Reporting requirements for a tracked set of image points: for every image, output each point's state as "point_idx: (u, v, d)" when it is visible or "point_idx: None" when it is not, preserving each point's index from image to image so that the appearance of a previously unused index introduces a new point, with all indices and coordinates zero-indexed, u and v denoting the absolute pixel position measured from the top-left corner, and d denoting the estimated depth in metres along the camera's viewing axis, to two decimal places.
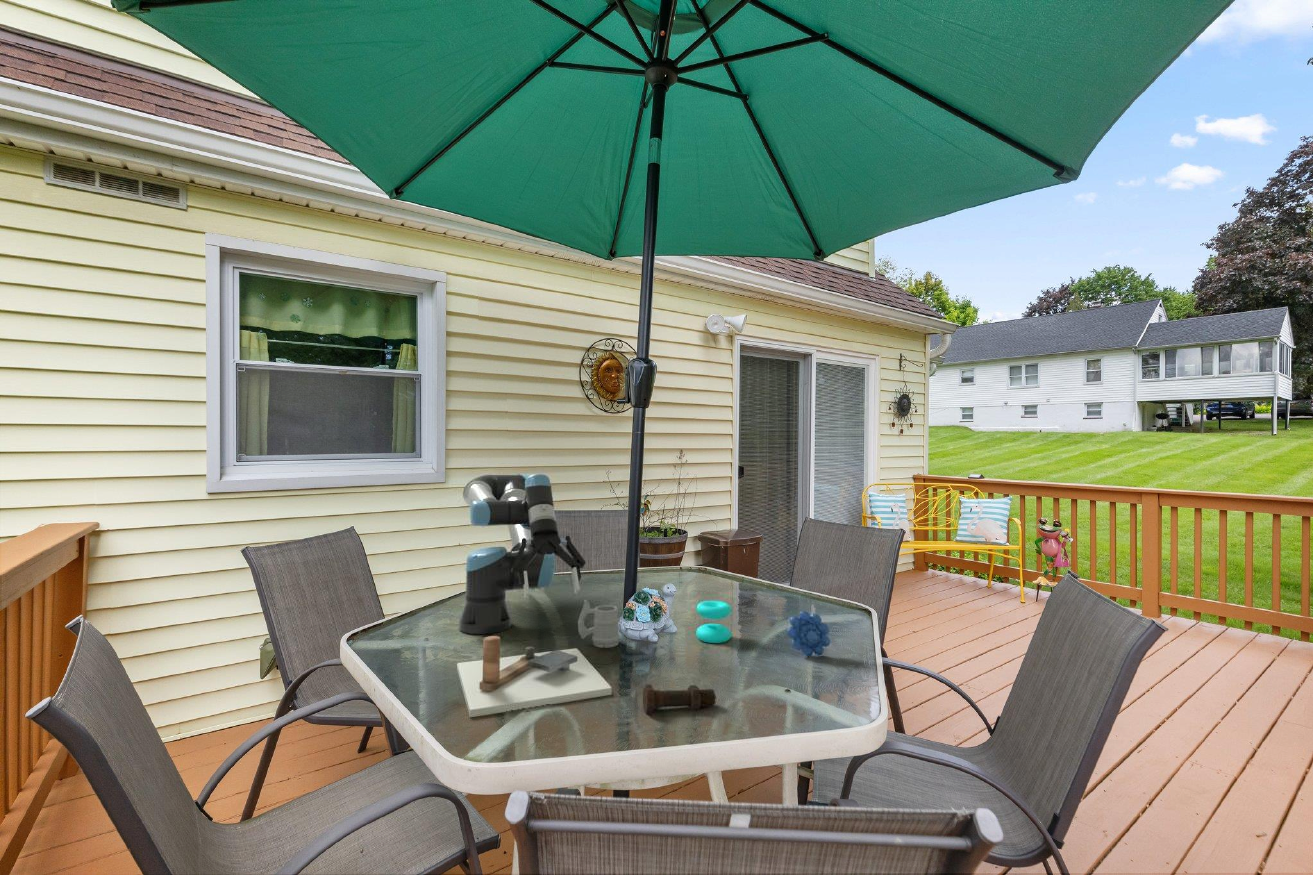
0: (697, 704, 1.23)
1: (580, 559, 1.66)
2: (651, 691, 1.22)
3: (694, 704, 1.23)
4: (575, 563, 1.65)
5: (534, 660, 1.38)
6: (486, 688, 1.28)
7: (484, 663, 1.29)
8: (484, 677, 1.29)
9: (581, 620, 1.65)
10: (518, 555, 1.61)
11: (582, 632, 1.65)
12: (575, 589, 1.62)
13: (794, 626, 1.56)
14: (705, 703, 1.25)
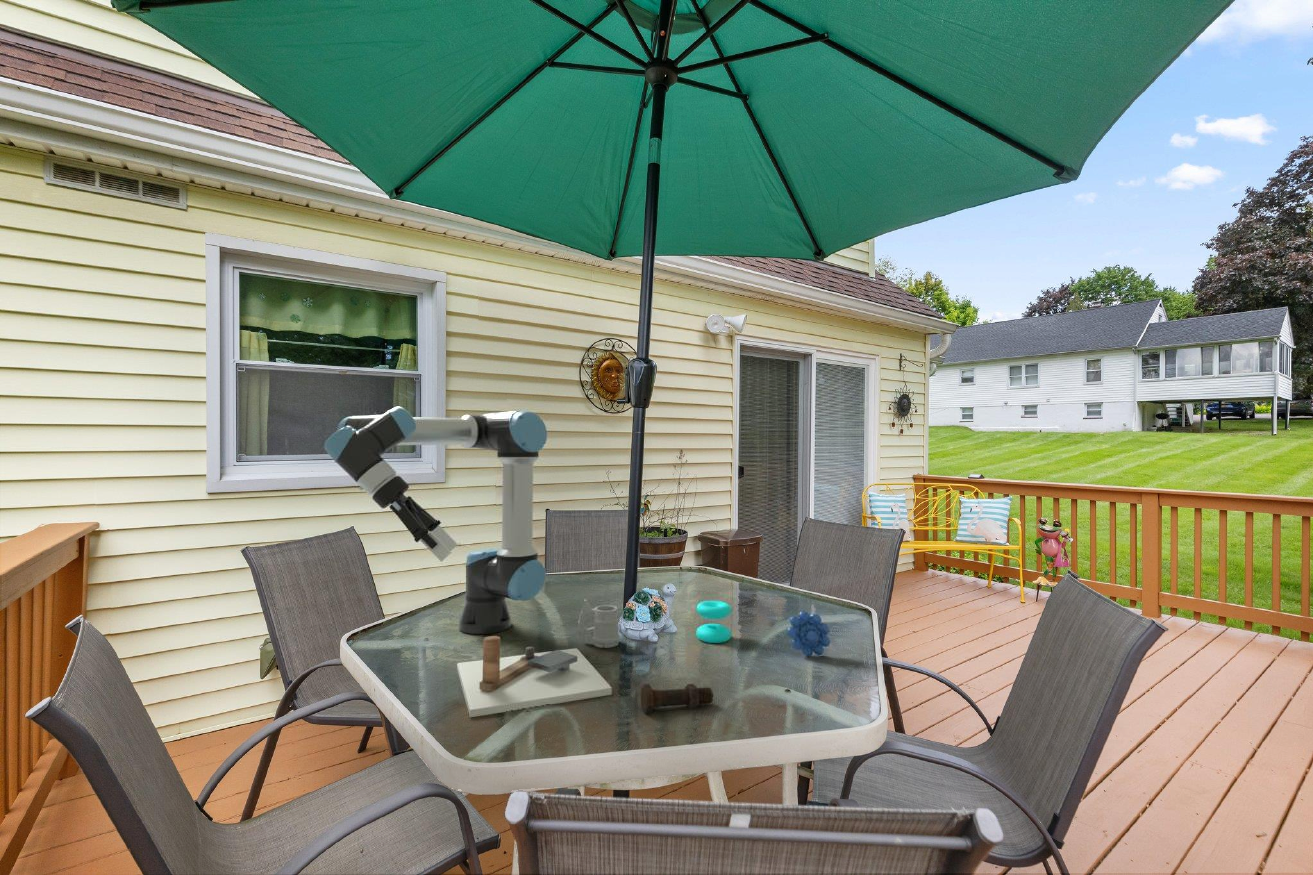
0: (695, 703, 1.24)
1: None
2: (650, 691, 1.22)
3: (692, 703, 1.24)
4: None
5: (534, 660, 1.38)
6: (486, 688, 1.28)
7: (484, 663, 1.29)
8: (484, 677, 1.29)
9: (581, 620, 1.65)
10: None
11: (582, 632, 1.65)
12: None
13: (794, 626, 1.56)
14: (703, 701, 1.25)
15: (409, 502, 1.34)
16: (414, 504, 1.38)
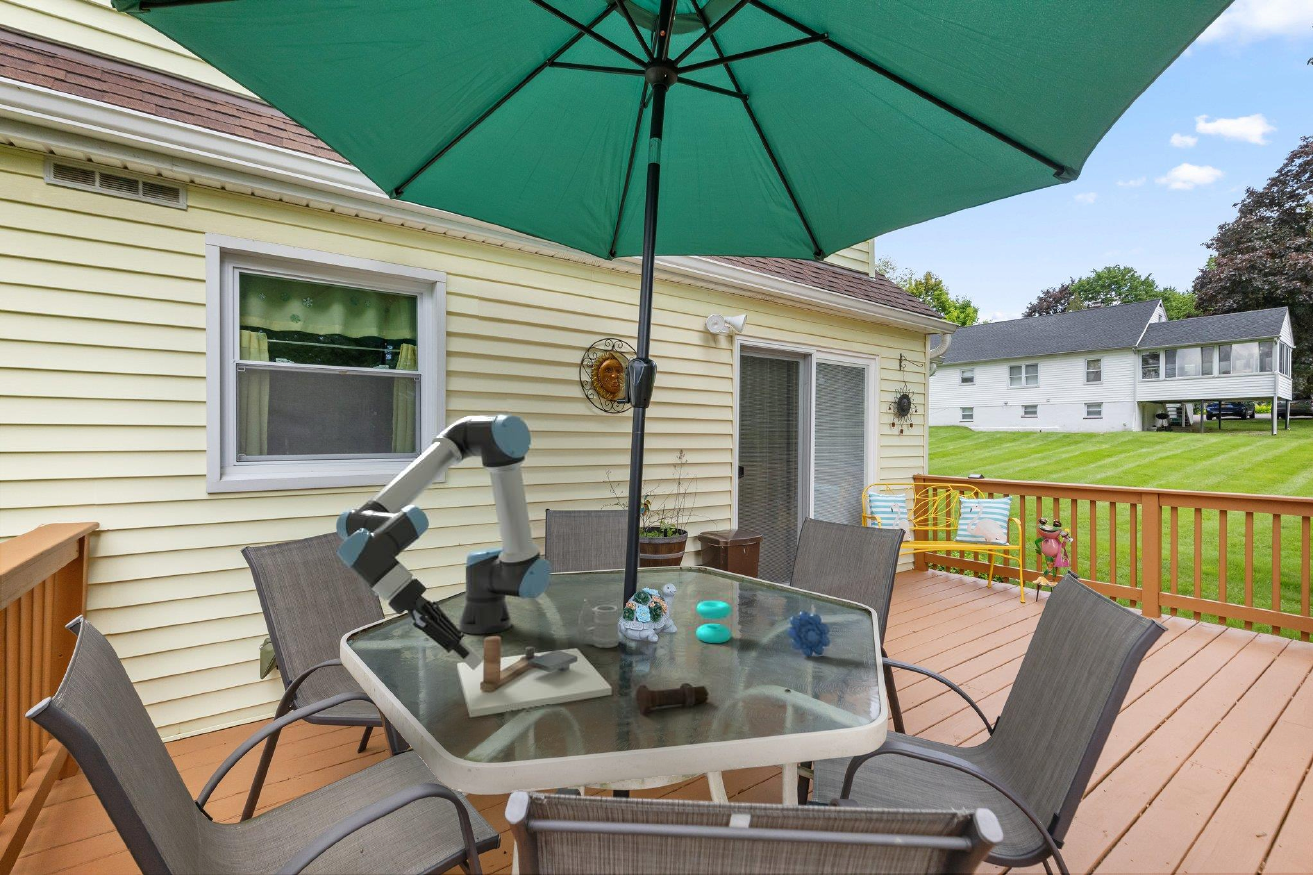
0: (691, 701, 1.25)
1: None
2: (647, 692, 1.22)
3: (689, 702, 1.24)
4: None
5: (534, 660, 1.38)
6: (487, 688, 1.28)
7: (485, 663, 1.29)
8: (485, 677, 1.29)
9: (581, 620, 1.65)
10: None
11: (582, 632, 1.65)
12: None
13: (794, 626, 1.56)
14: (698, 700, 1.26)
15: (429, 609, 1.28)
16: (431, 607, 1.30)
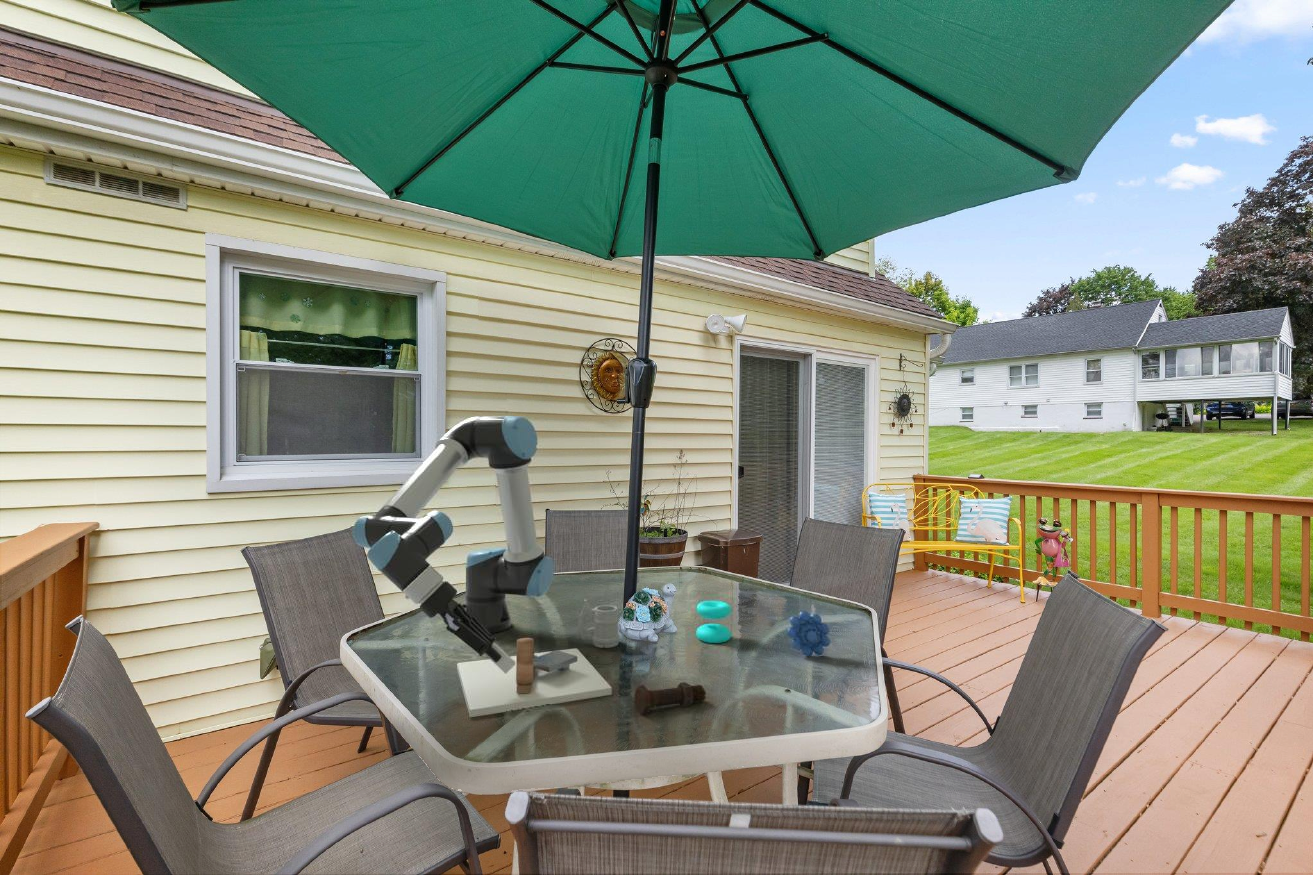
0: (690, 700, 1.25)
1: None
2: (646, 692, 1.22)
3: (687, 701, 1.25)
4: None
5: (534, 660, 1.38)
6: (525, 690, 1.27)
7: (521, 666, 1.28)
8: (521, 680, 1.28)
9: (581, 620, 1.65)
10: None
11: (582, 632, 1.65)
12: None
13: (794, 626, 1.56)
14: (696, 699, 1.27)
15: (460, 612, 1.26)
16: (462, 610, 1.28)
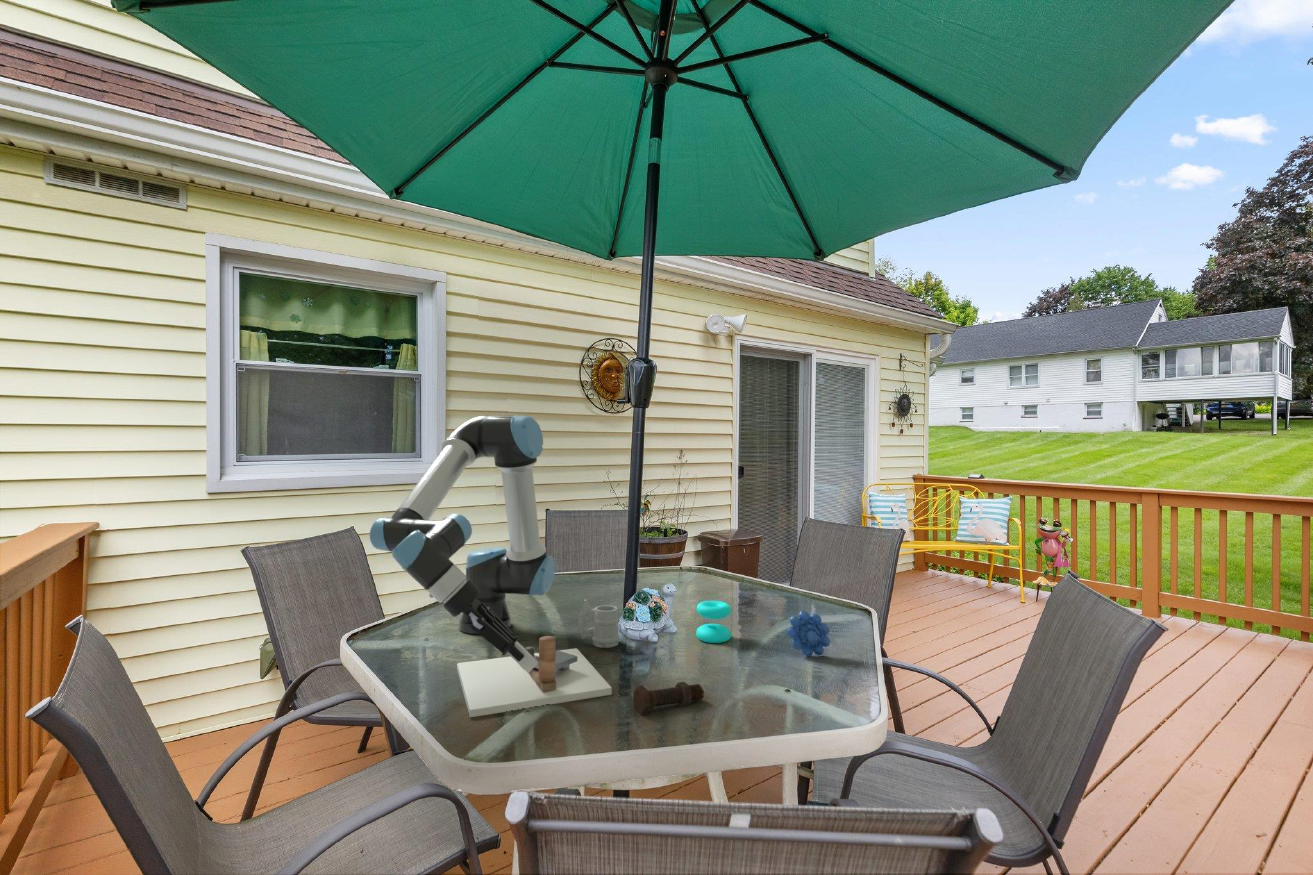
0: (688, 700, 1.25)
1: None
2: (646, 692, 1.22)
3: (686, 700, 1.25)
4: None
5: None
6: (550, 687, 1.29)
7: (546, 664, 1.29)
8: (547, 677, 1.29)
9: (581, 620, 1.65)
10: None
11: (582, 632, 1.65)
12: None
13: (794, 626, 1.56)
14: (694, 698, 1.27)
15: (484, 611, 1.26)
16: (485, 609, 1.29)
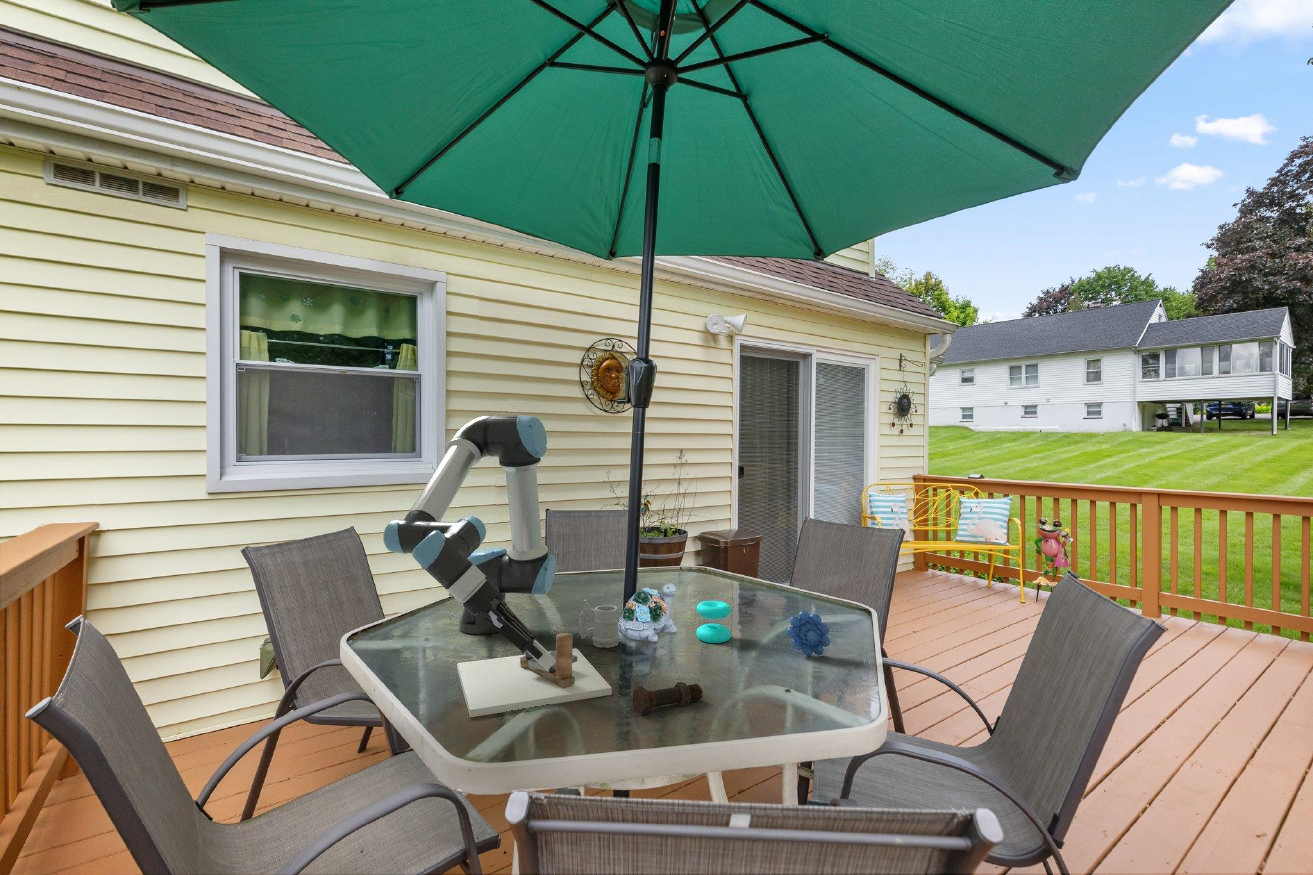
0: (687, 700, 1.25)
1: None
2: (645, 693, 1.22)
3: (685, 700, 1.25)
4: None
5: (534, 660, 1.38)
6: (570, 683, 1.32)
7: (566, 660, 1.31)
8: (566, 673, 1.31)
9: (581, 620, 1.65)
10: None
11: (582, 632, 1.65)
12: None
13: (794, 626, 1.56)
14: (693, 698, 1.27)
15: (503, 610, 1.28)
16: (504, 608, 1.30)
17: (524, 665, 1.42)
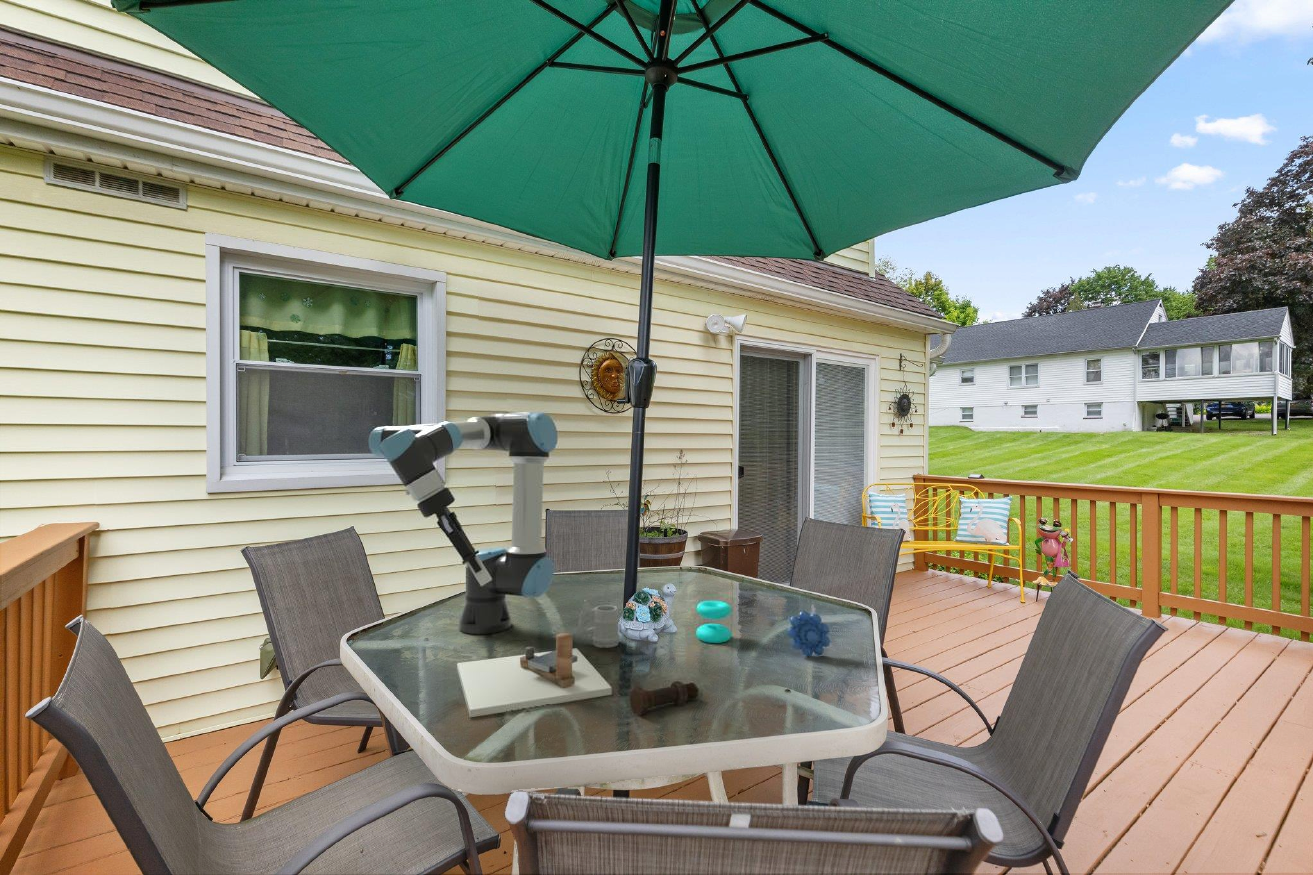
0: (684, 699, 1.26)
1: (460, 554, 1.32)
2: (644, 693, 1.21)
3: (682, 699, 1.26)
4: None
5: (534, 660, 1.38)
6: (570, 683, 1.32)
7: (566, 660, 1.31)
8: (566, 673, 1.31)
9: (581, 620, 1.65)
10: None
11: (582, 632, 1.65)
12: None
13: (794, 626, 1.56)
14: (690, 697, 1.28)
15: (455, 519, 1.33)
16: None
17: (524, 665, 1.42)
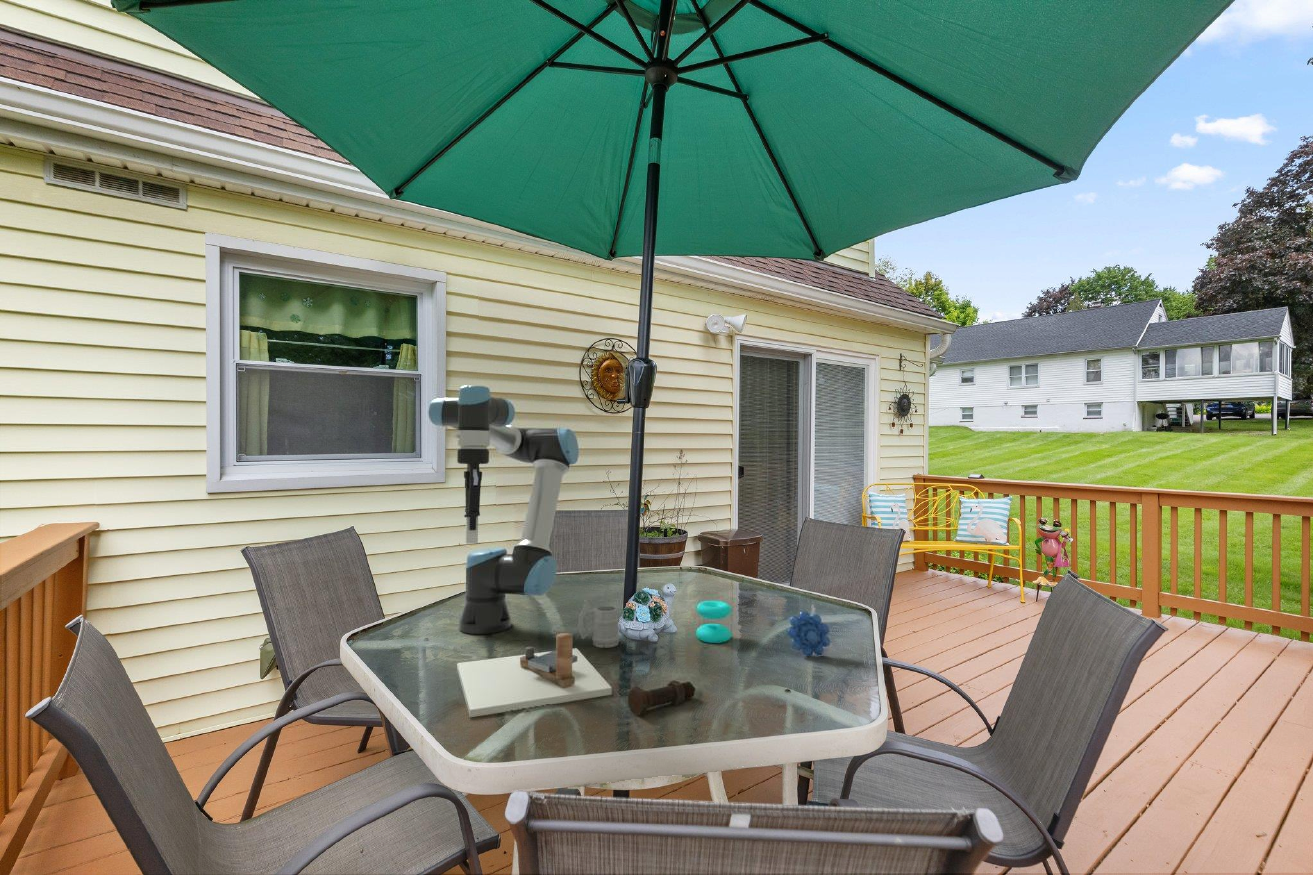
0: (682, 698, 1.26)
1: (468, 507, 1.45)
2: (643, 693, 1.21)
3: (680, 698, 1.26)
4: (467, 511, 1.46)
5: (534, 660, 1.38)
6: (570, 683, 1.32)
7: (566, 660, 1.31)
8: (566, 673, 1.31)
9: (581, 620, 1.65)
10: None
11: (582, 632, 1.65)
12: None
13: (794, 626, 1.56)
14: (687, 696, 1.28)
15: (480, 477, 1.47)
16: None
17: (524, 665, 1.42)
